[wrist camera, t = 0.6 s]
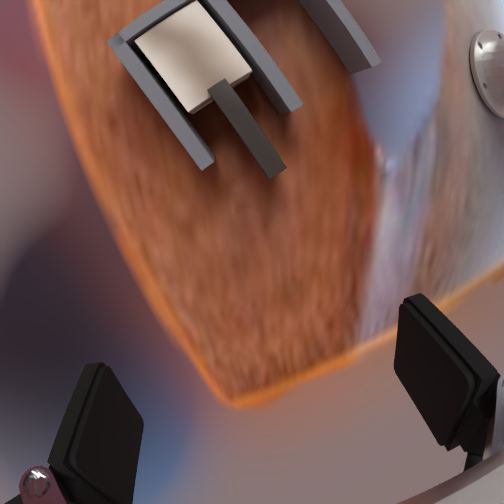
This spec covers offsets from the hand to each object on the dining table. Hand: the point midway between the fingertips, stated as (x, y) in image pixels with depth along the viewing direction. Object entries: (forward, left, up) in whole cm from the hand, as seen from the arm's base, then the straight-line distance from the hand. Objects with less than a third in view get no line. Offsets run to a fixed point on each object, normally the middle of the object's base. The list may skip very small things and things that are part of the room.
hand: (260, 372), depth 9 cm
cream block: (-5, -9, -23) cm, 25 cm away
